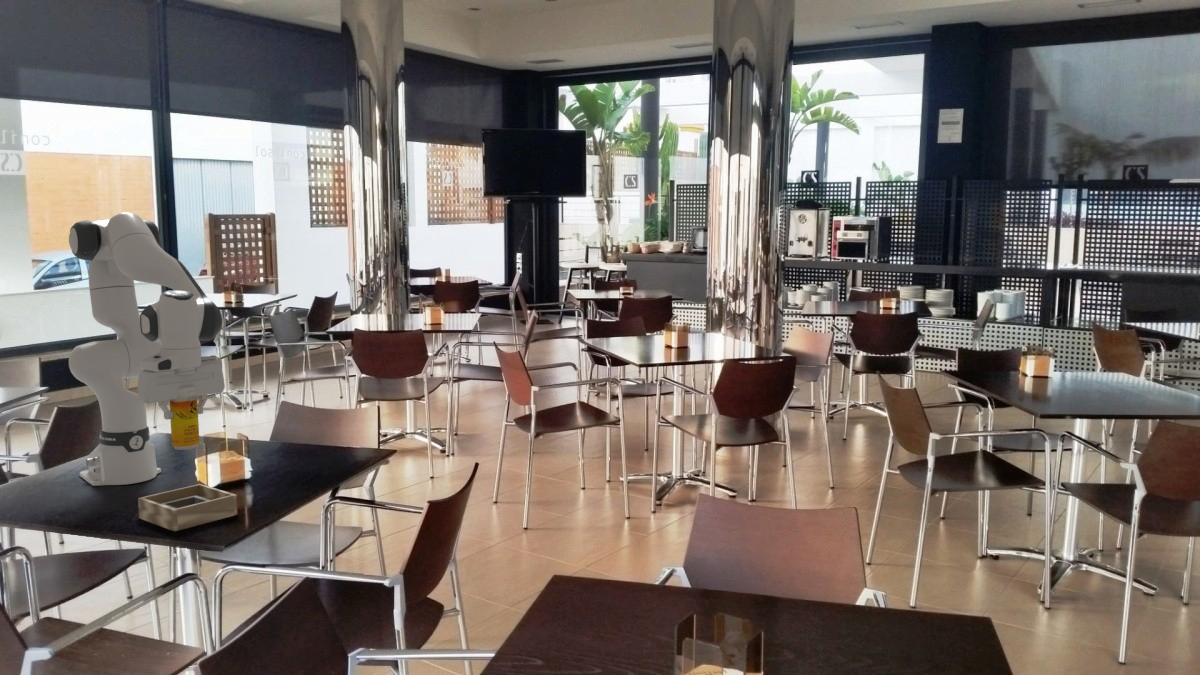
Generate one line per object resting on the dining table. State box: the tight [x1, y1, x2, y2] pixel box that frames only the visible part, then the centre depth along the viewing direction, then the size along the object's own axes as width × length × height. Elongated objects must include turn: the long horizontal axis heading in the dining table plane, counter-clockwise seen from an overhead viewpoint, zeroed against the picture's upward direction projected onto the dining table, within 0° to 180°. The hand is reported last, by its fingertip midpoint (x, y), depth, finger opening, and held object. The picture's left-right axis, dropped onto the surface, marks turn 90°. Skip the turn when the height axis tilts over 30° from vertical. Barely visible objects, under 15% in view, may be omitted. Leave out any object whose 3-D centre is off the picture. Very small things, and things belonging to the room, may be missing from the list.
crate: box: [137, 483, 238, 532], centre depth 229 cm, size 16×16×5 cm
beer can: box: [169, 385, 200, 451], centre depth 226 cm, size 6×6×15 cm
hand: (183, 416), depth 226 cm, fingers closed on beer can, 6 cm apart
